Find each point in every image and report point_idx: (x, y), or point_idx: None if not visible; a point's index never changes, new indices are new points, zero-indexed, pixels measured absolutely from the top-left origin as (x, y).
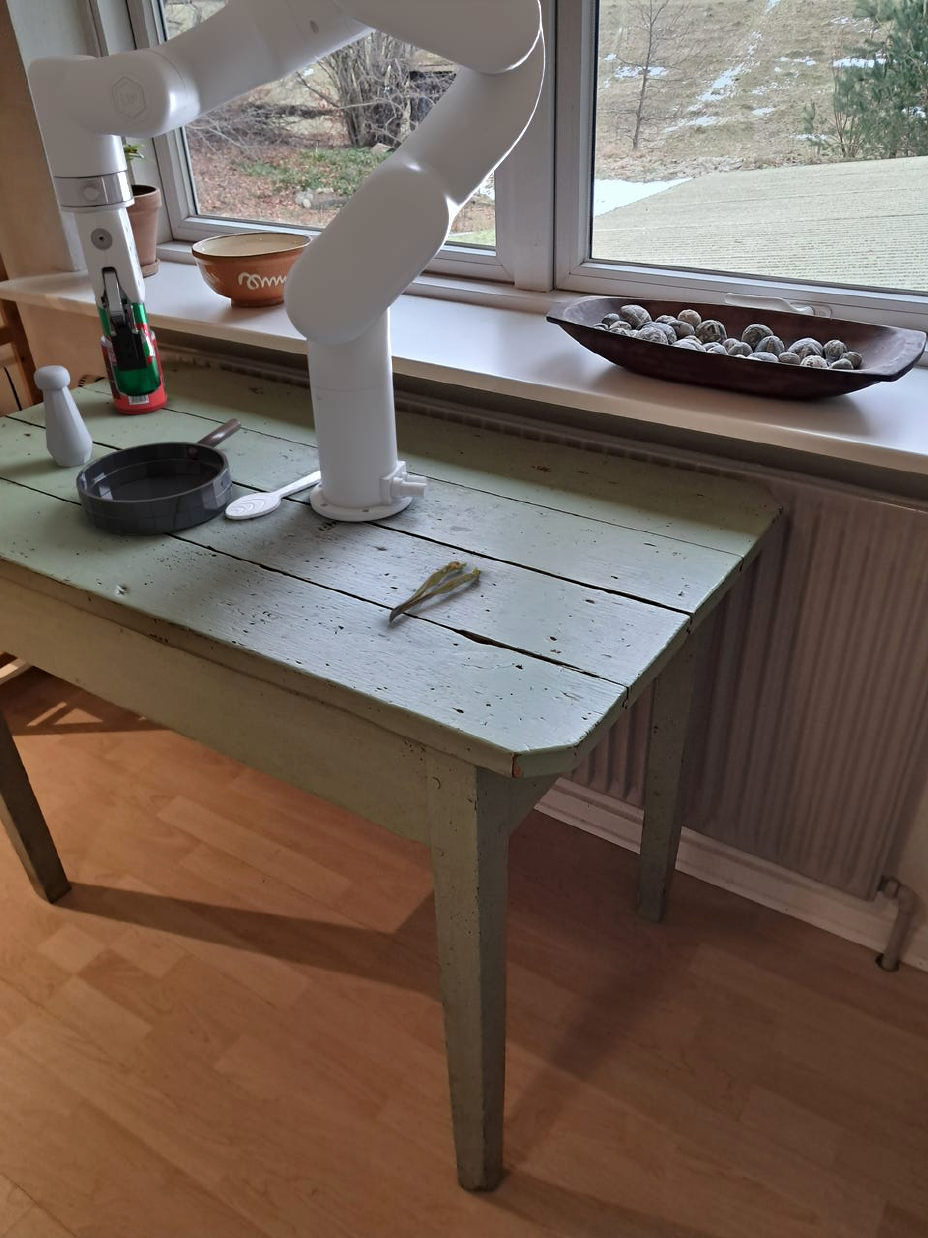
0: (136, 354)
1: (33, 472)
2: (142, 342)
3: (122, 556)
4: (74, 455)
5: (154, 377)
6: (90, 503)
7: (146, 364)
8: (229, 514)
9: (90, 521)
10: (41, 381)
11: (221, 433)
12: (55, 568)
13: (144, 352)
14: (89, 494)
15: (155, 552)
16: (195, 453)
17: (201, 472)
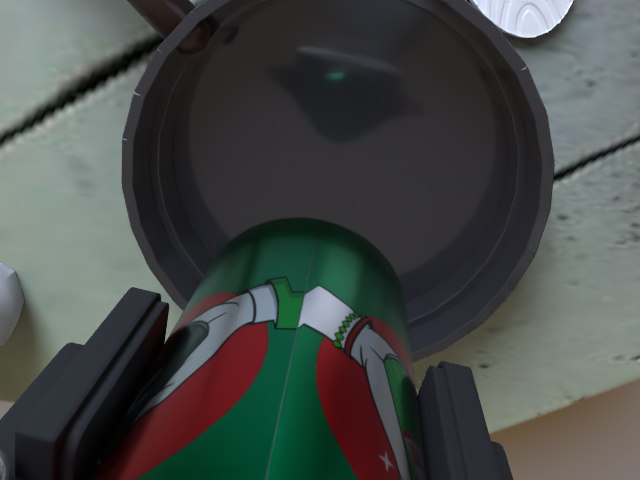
0: (510, 475)
1: (25, 366)
2: (469, 466)
3: (554, 300)
4: (16, 302)
5: (389, 282)
6: None
7: (470, 375)
8: (540, 32)
9: None
10: None
11: None
12: (517, 407)
13: (484, 424)
14: None
15: (585, 240)
16: (208, 34)
17: (231, 25)
